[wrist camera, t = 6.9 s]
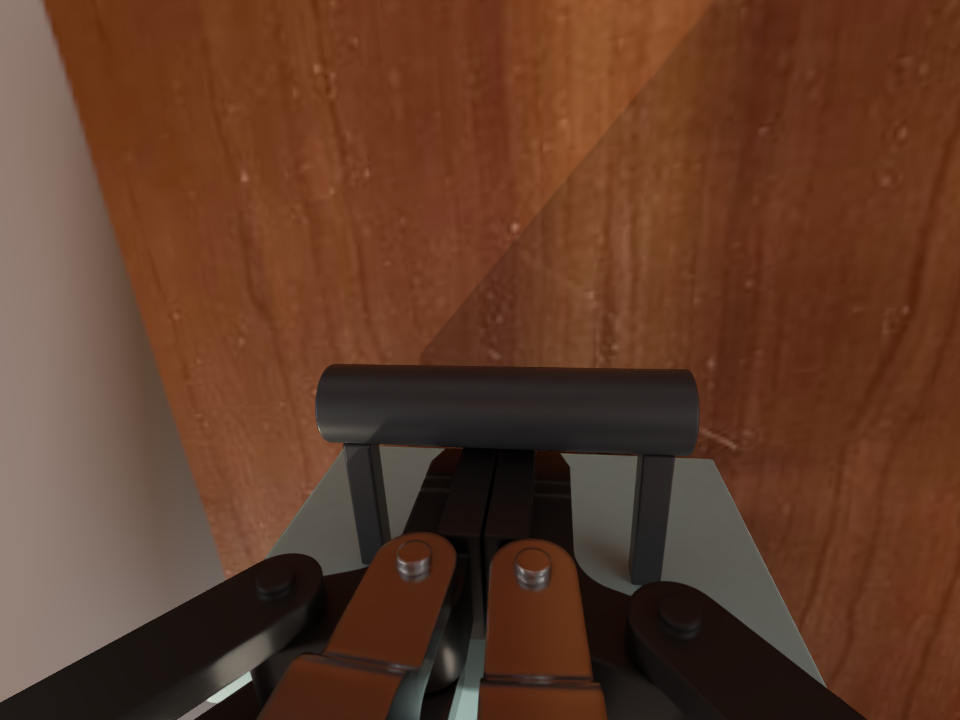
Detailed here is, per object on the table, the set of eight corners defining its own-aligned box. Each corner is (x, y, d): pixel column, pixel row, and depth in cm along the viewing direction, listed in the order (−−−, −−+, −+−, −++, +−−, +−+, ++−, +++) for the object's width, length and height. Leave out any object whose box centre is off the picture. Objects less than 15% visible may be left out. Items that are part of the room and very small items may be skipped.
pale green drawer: (322, 301, 15) (112, 438, 8) (736, 300, 13) (940, 472, 6) (389, 719, 22) (308, 995, 15) (669, 752, 20) (730, 1080, 13)
